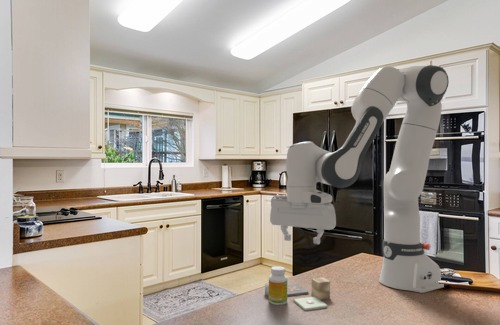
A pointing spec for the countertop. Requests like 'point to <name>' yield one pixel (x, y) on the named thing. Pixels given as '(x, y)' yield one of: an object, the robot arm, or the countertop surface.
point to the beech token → (320, 288)
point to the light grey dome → (267, 289)
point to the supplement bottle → (278, 286)
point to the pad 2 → (310, 303)
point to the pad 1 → (295, 290)
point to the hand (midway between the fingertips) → (301, 242)
